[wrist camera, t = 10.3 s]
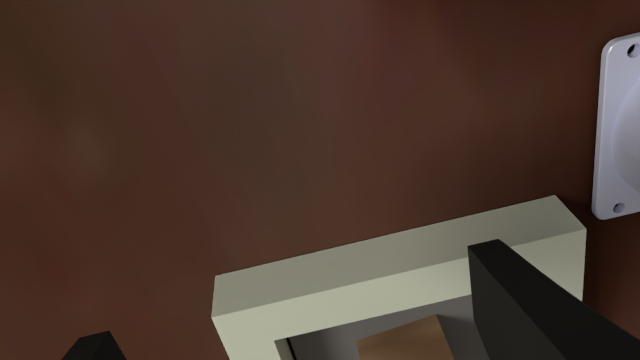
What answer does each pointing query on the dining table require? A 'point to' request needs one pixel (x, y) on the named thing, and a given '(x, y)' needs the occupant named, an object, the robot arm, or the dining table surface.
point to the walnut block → (407, 342)
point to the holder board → (388, 285)
